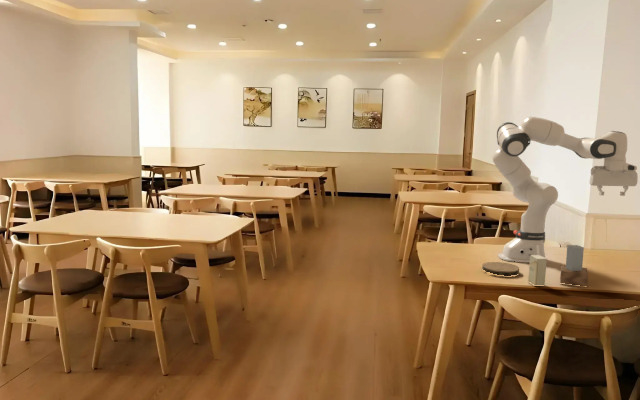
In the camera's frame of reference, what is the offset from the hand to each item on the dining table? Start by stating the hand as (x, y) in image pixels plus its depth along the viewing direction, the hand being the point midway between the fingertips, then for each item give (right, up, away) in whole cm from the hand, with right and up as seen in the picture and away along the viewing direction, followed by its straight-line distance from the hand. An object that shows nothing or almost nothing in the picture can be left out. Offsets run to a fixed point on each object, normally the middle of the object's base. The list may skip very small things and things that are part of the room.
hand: (611, 195), depth 237 cm
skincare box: (-47, -38, -26) cm, 66 cm away
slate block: (-30, -32, -23) cm, 49 cm away
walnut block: (-30, -38, -23) cm, 53 cm away
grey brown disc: (-55, -36, -8) cm, 66 cm away
